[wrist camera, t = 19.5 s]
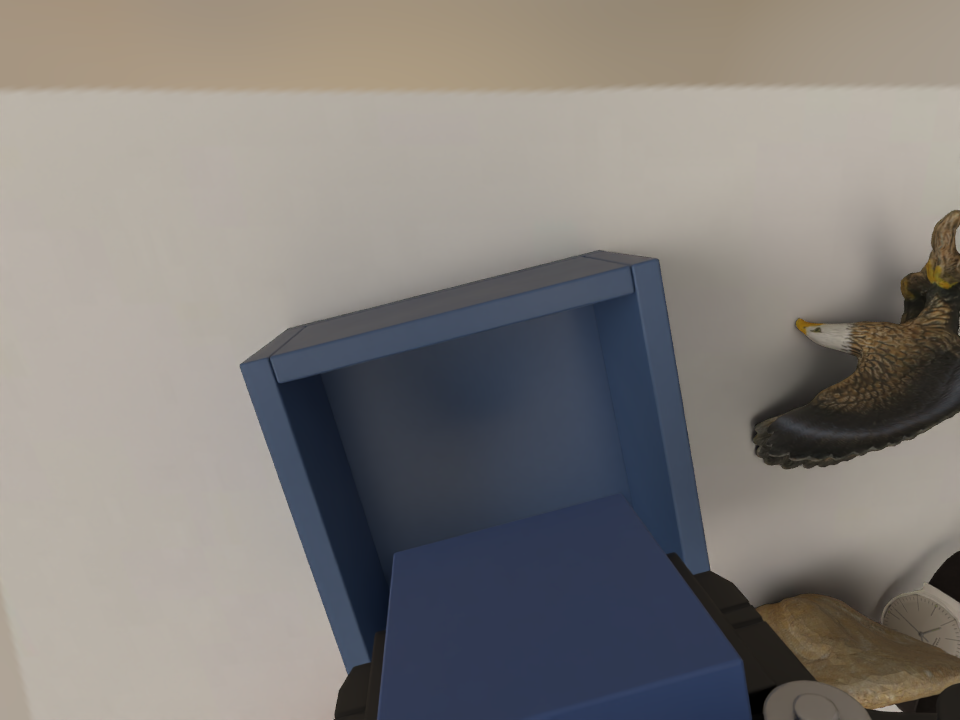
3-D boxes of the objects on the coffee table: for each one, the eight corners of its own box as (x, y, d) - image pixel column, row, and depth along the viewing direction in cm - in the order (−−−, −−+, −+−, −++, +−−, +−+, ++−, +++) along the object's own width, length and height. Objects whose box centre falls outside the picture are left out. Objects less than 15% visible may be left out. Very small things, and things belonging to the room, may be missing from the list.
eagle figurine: (818, 192, 20) (698, 422, 20) (1103, 220, 15) (948, 529, 15) (857, 290, 26) (763, 473, 25) (1079, 335, 21) (964, 565, 20)
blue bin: (376, 604, 24) (362, 717, 18) (286, 329, 21) (238, 364, 16) (652, 529, 24) (719, 618, 19) (600, 249, 21) (660, 257, 16)
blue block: (451, 740, 12) (465, 1027, 8) (392, 552, 11) (370, 763, 7) (659, 682, 13) (787, 933, 8) (621, 491, 12) (744, 659, 7)
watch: (918, 526, 25) (998, 575, 22) (1006, 554, 26) (1097, 605, 22) (840, 676, 27) (903, 745, 23) (926, 698, 27) (1000, 768, 24)
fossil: (690, 770, 20) (1018, 686, 17) (640, 632, 22) (923, 542, 20) (713, 744, 27) (947, 682, 25) (674, 642, 29) (884, 577, 27)
